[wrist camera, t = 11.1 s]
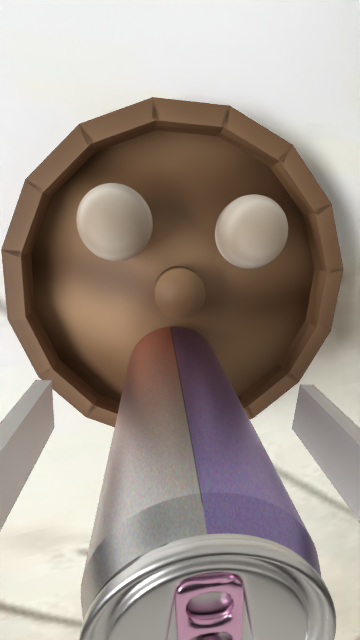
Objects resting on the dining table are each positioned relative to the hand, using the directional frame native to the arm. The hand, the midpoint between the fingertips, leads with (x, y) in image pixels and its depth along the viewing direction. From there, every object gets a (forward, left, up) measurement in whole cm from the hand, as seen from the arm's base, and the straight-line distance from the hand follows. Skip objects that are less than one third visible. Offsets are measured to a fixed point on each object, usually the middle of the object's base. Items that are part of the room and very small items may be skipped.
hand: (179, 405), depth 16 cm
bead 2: (-9, +4, -5) cm, 11 cm away
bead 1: (-9, -4, -5) cm, 11 cm away
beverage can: (0, 0, -5) cm, 5 cm away
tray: (-5, 0, -6) cm, 8 cm away
